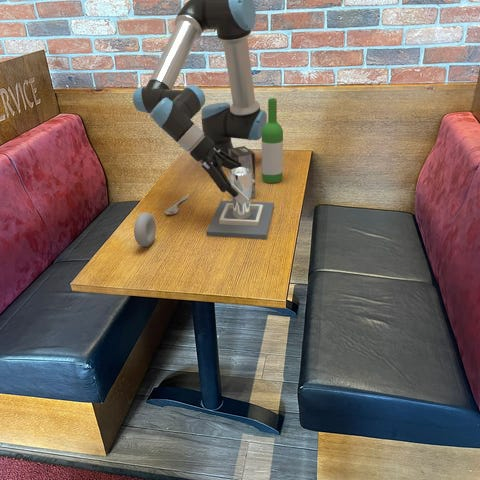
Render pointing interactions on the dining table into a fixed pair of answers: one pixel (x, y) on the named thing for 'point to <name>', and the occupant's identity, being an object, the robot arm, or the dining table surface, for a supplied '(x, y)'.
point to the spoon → (175, 206)
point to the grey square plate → (241, 221)
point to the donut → (144, 229)
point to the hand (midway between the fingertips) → (248, 193)
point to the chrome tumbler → (244, 183)
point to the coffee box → (245, 161)
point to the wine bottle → (272, 146)
